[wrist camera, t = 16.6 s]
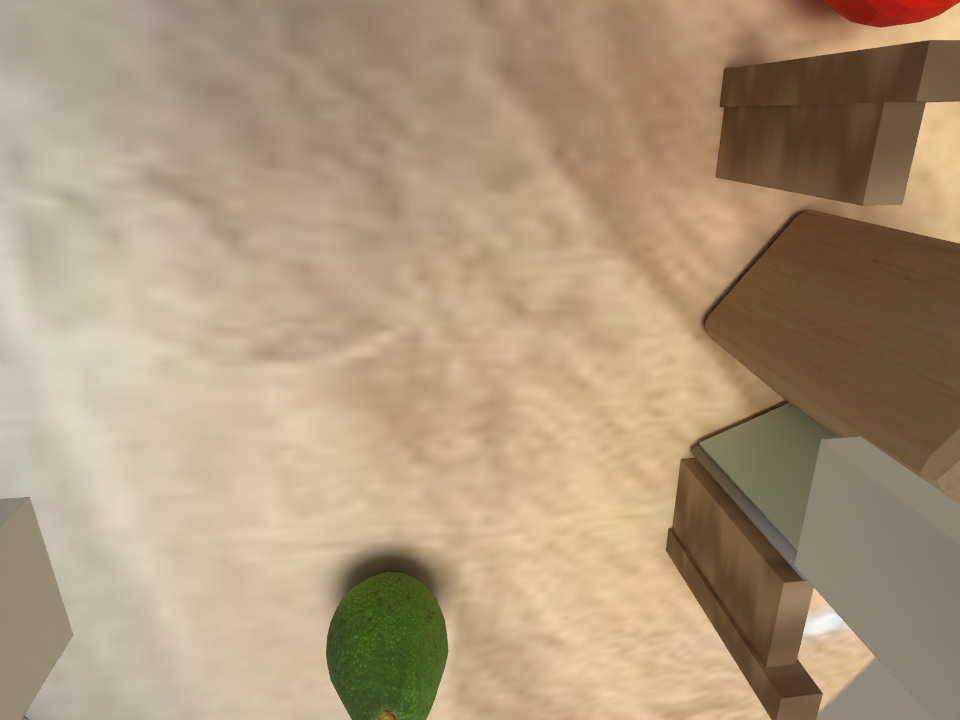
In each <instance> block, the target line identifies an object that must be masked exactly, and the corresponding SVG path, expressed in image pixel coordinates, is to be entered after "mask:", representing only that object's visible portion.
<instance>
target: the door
mask: <svg viewBox="0 0 960 720" xmlns="http://www.w3.org/2000/svg"><path fill="white" fill-rule="evenodd" d="M834 438H837V437H836V436H835V435H833V434H832V433H831V432H829V431H828V430H826V429H825V428H824V427H822V426H821V425H820V424H818V423H817V422H815V421H814V420H813V419H811V418H810V417H809V416H807V415H806V414H804V413H803V412H802V411H800V410H799V409H798V408H796V407H795V406H793V405H792V404H791V403H787V404H785V405H783V406H781V407H778V408H776V409H774V410H772V411H769V412H767V413H765V414H763V415H760V416H758V417H756V418H754V419H751V420H749V421H747V422H745V423H742V424H740V425H738V426H736V427H733V428H731V429H729V430H727V431H724V432H722V433H720V434H718V435H715V436H713V437H711V438H709V439H706V440H704V441H702V442H700V443H699V444H700V446H696V447H695V448H693V450H692V454H693V455H694V456H695V457H696V459H697V460H698V461H699V462H700V463H701V464H702V465H703V467H704V468H705V469H706V470H707V471H708V472H709V473H710V474H711V476H712V477H713V478H714V479H715V480H716V481H717V482H718V484H719V485H720V486H721V487H722V488H723V489H724V490H725V492H726V493H727V494H728V495H729V496H730V497H731V498H732V500H733V501H734V502H735V503H736V504H737V505H738V506H739V507H740V509H741V510H742V511H743V512H744V513H745V514H746V515H747V517H748V518H749V519H750V520H751V521H752V522H753V523H754V525H755V526H756V527H757V528H758V529H759V530H760V531H761V532H762V534H763V535H764V536H765V537H766V538H767V539H768V540H769V542H770V543H771V544H772V545H773V546H774V547H775V548H776V550H777V551H778V552H779V553H780V554H781V555H782V556H783V557H784V559H785V560H786V561H787V562H788V563H789V564H790V565H791V567H792V568H793V569H794V570H795V571H796V572H797V573H798V575H799V576H800V577H801V578H802V579H803V580H807V579H806V578H805V577H804V576H803V574H802V573H801V572H800V571H799V570H798V569H797V568H796V567H795V560H796V555H797V551H798V546H799V541H800V536H801V532H802V527H803V522H804V518H805V513H806V508H807V504H808V499H809V494H810V490H811V485H812V480H813V476H814V471H815V466H816V462H817V457H818V452H819V448H820V443H821V439H834Z"/></svg>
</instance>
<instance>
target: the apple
mask: <svg viewBox="0 0 960 720" xmlns="http://www.w3.org/2000/svg"><path fill="white" fill-rule="evenodd" d="M823 1H824V2H825V3H826V4H827V5H828V6H830V7H831V8H832V9H834V10H835V11H836V12H838V13H839V14H840V15H842V16H843V17H845V18H846V19H848V20H849V21H851V22H855V23H859V24H863V25H869V26H875V27H887V26H895V25H902V24H910V23H917V22H922V21H925V20H927V19H930V18H933V17H935V16H938V15H940V14H942V13H943V12H945V11H946V10H948V9H949V8H951V7H953V6H954V5H956V4H957V3H959V2H960V0H823Z"/></svg>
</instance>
